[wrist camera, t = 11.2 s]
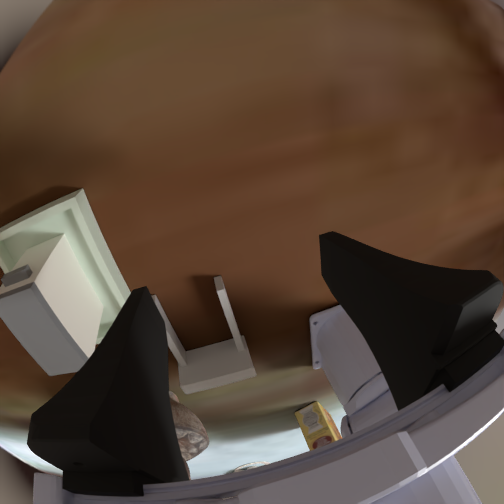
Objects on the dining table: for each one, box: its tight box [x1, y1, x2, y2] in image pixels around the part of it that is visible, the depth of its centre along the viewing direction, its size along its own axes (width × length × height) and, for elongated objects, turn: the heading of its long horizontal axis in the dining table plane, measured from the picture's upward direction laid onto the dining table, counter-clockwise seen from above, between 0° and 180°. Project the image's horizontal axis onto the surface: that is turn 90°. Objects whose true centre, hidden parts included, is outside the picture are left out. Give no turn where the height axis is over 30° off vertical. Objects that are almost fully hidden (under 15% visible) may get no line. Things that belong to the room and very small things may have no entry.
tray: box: [0, 188, 131, 344], centre depth 19 cm, size 12×9×2 cm
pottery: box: [169, 390, 209, 480], centre depth 26 cm, size 11×25×12 cm, turn 134°
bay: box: [152, 276, 257, 394], centre depth 24 cm, size 9×7×4 cm
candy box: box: [295, 401, 342, 451], centre depth 34 cm, size 9×4×15 cm, turn 29°
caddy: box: [0, 234, 104, 376], centre depth 16 cm, size 8×4×7 cm, turn 11°
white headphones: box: [233, 462, 270, 473], centre depth 49 cm, size 9×8×4 cm
